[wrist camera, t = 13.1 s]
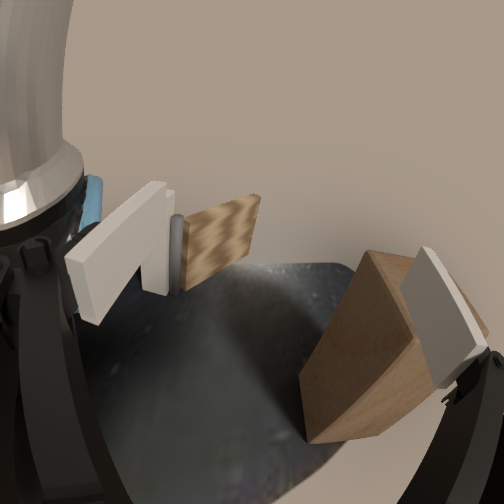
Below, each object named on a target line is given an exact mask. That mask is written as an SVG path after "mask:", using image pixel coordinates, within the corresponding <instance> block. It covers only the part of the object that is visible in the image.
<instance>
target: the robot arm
mask: <svg viewBox="0 0 504 504" xmlns="http://www.w3.org/2000/svg"><path fill="white" fill-rule="evenodd" d="M72 5H73V0H0V504H18V499H17V490H16V480H15V465H14V424H15V408H16V399H17V398H18V397H19V396H20V394H22V403H23V410H24V416H25V422H26V428H27V433H28V438H29V443H30V447H31V451H32V455H33V459H34V463H35V467H36V470H37V473H38V477H39V480H40V483H41V486H42V489H43V493H44V501H43V504H134V503H133V502H132V501H131V499H130V497H129V496H128V494H127V492H126V490H125V488H124V486H123V483H122V481H121V479H120V477H119V475H118V473H117V470H116V468H115V466H114V463H113V461H112V459H111V456H110V454H109V451H108V448H107V446H106V443H105V440H104V438H103V435H102V432H101V429H100V426H99V423H98V420H97V417H96V414H95V411H94V407H93V404H92V401H91V397H90V393H89V390H88V386H87V382H86V378H85V374H84V369H83V365H82V360H81V355H80V350H79V345H78V339H77V333H76V327H75V321H74V318H73V314H74V313H80V316H81V319H83V320H85V321H88V322H90V323H93V324H95V325H98V326H99V324H100V323H101V321H102V320H103V318H104V317H105V315H106V313H107V312H108V310H109V309H110V307H111V306H112V304H113V303H114V302H115V300H116V299H117V297H118V296H119V294H120V293H121V291H122V290H123V288H124V287H125V286H126V284H127V283H128V281H129V280H130V279H131V277H132V276H133V274H134V273H135V272H136V270H137V269H138V267H139V266H140V265H141V263H142V262H143V261H144V259H145V258H146V257H147V255H148V254H149V253H150V251H151V250H152V249H153V247H154V246H155V245H156V243H157V242H158V241H159V239H160V238H161V237H162V235H163V234H164V233H165V209H166V191H167V183H166V182H161V181H154V180H152V181H151V182H150V183H148V184H147V185H146V186H144V187H143V188H142V189H140V190H139V191H138V192H137V193H135V194H134V195H133V196H132V197H131V198H129V199H128V200H127V201H125V202H124V203H123V204H122V205H121V206H119V207H118V208H117V209H116V210H115V211H113V212H112V213H111V214H110V215H109V216H108V217H107V218H105V219H104V220H103V221H102V222H101V211H102V210H101V209H102V192H103V181H102V179H101V178H100V177H98V176H93V175H91V174H88V175H87V176H84V167H83V159H82V155H81V153H80V152H79V150H78V149H77V148H75V147H74V146H73V145H71V144H69V143H68V142H67V141H65V140H64V139H63V138H62V82H63V67H64V56H65V47H66V39H67V32H68V26H69V20H70V15H71V9H72ZM399 288H400V290H401V292H402V295H403V297H404V300H405V302H406V305H407V307H408V310H409V313H410V315H411V318H412V321H413V323H414V326H415V329H416V332H417V335H418V337H419V340H420V343H421V346H422V349H423V352H424V356H425V359H426V362H427V365H428V369H429V372H430V375H431V379H432V382H433V386H434V389H446V388H448V387H449V386H450V385H451V384H452V383H453V382H454V381H455V380H456V382H457V385H458V386H457V387H455V388H454V389H453V390H452V391H451V392H450V393H449V394H448V395H447V396H445V397H444V398H443V399H442V401H441V402H442V403H443V402H444V401H445V400H446V399H449V401H448V402H447V403H446V404H445V405H446V406H447V407H446V409H445V412H444V414H443V417H442V419H441V422H440V424H439V427H438V429H437V431H436V433H435V436H434V438H433V440H432V442H431V444H430V446H429V448H428V450H427V453H426V454H425V456H424V459H423V460H422V462H421V464H420V466H419V468H418V470H417V471H416V473H415V475H414V477H413V478H412V480H411V482H410V483H409V485H408V487H407V488H406V490H405V492H404V493H403V495H402V496H401V498H400V499H399V501H398V502H397V504H504V415H503V413H504V357H503V356H502V355H501V354H500V353H499V352H497V351H490V349H489V347H488V344H487V342H486V340H485V338H484V336H483V334H482V332H481V330H480V328H479V326H478V324H477V322H476V320H475V318H474V316H473V315H472V313H471V311H470V309H469V307H468V306H467V304H466V302H465V300H464V298H463V297H462V295H461V293H460V292H459V290H458V288H457V287H456V285H455V283H454V282H453V280H452V278H451V277H450V275H449V274H448V272H447V270H446V269H445V267H444V266H443V264H442V263H441V261H440V260H439V258H438V257H437V255H436V254H435V252H434V251H433V249H430V248H427V247H424V246H422V247H421V249H420V251H419V252H418V254H417V256H416V258H415V260H414V262H413V264H412V265H411V267H410V269H409V271H408V273H407V274H406V276H405V278H404V280H403V282H402V283H401V285H400V287H399Z"/></svg>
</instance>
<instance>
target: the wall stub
mask: <svg viewBox="0 0 504 504" xmlns="http://www.w3.org/2000/svg"><path fill="white" fill-rule="evenodd" d="M174 203H175V191H174V190H169V189H167V191H166V209H165V233H164V234H163V235H162V237H161V238H160V239H159V241H158V242H157V243H156V245H155V246H154V247H153V249H152V250H151V251H150V253H149V254H148V255H147V257H146V258H145V259H144V261H143V262H142V263H141V277H142V289H143V290H146V291H150V292H153V293H157V294H160V295H164V296H166V295H167V293H168V292H169V290H170V295H172V296H178V295H179V294H180V277H181V256H182V239H183V224H184V217H183V216H182V215H180V214H175V215H174Z"/></svg>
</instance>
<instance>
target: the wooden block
mask: <svg viewBox="0 0 504 504" xmlns="http://www.w3.org/2000/svg"><path fill="white" fill-rule="evenodd" d="M414 260H415V258H411V257H405V256H400V255H394V254H389V253H384V252H378V251H372V250H367V251H366V252H365V253H364V255H363V257H362V259H361V262H360V264H359V266H358V268H357V270H356V272H355V274H354V276H353V278H352V280H351V282H350V284H349V286H348V288H347V290H346V292H345V294H344V296H343V298H342V300H341V302H340V304H339V306H338V308H337V310H336V312H335V313H334V315H333V317H332V319H331V321H330V323H329V324H328V326H327V328H326V330H325V332H324V333H323V335H322V337H321V339H320V340H319V342H318V344H317V346H316V347H315V349H314V351H313V353H312V354H311V356H310V358H309V359H308V361H307V363H306V364H305V366H304V368H303V369H302V371H301V372H300V374H299V383H300V390H301V397H302V404H303V412H304V419H305V427H306V435H307V442H308V443H309V444H318V443H329V442H338V441H346V440H353V439H359V438H366V437H372V436H377V435H379V434H381V433H382V432H383V431H385V430H386V429H388V428H389V427H390V426H392V425H393V424H395V423H396V422H397V421H399V420H400V419H401V418H403V417H404V416H405V415H407V414H408V413H409V412H411V411H412V410H413V409H414V408H415V407H417V406H418V405H419V404H420V403H422V402H423V401H424V400H425V399H426V398H427V397H429V396H430V395H431V394H432V393H433V392H434V391H435V390H436V389H434V386H433V382H432V379H431V375H430V372H429V369H428V365H427V362H426V359H425V356H424V352H423V349H422V346H421V343H420V340H419V337H418V335H417V332H416V329H415V326H414V323H413V321H412V318H411V315H410V313H409V310H408V307H407V305H406V302H405V300H404V297H403V295H402V292H401V290H400V288H399V287H400V285H401V283H402V282H403V280H404V278H405V276H406V274H407V273H408V271H409V269H410V267H411V265H412V264H413V262H414ZM448 274H449V273H448ZM449 275H450V274H449ZM450 277H451V275H450ZM451 278H452V277H451ZM452 280H453V282H454V283H455V285H456V287H457V288H458V290H459V292H460V293H461V295H462V297H463V298H464V300H465V302H466V304H467V306H468V307H469V309H470V311H471V313H472V315H473V316H474V318H475V320H476V322H477V324H478V326H479V328H480V330H481V332H482V334H483V336H484V338H485V339H486V337H487V336H488V334H489V332H488V329H487V328H486V326H485V324H484V323H483V321H482V320H481V318H480V317H479V315H478V313H477V312H476V310H475V309H474V307H473V306H472V304H471V303H470V302H469V300H468V299H467V297H466V296H465V294H464V293H463V292H462V290H461V289H460V287H459V286H458V285H457V283H456V282H455V281H454V279H453V278H452Z"/></svg>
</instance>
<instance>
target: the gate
mask: <svg viewBox="0 0 504 504" xmlns="http://www.w3.org/2000/svg"><path fill="white" fill-rule="evenodd" d="M260 199H261V197H259V196H258V195H255V194H251V195H248V196H245V197H242V198H239V199H236V200H233V201H230V202H227V203H225V204H222V205H218V206H215V207H213V208H210V209H207V210H204V211H201V212H198V213H196V214H193V215H190V216H188V217H185V218H184V224H183V239H182V256H181V277H180V287H181V288H182V289H183V290H184V291H187V290H189V289H190V288H192V287H194V286H195V285H197V284H199V283H200V282H202V281H204V280H206V279H207V278H209V277H211V276H212V275H214V274H216V273H217V272H219V271H221V270H223V269H224V268H226V267H228V266H229V265H231V264H233V263H234V262H236V261H238V260H240V259H241V258H243V257H245V256H246V255H248V253H249V248H250V244H251V240H252V235H253V230H254V226H255V221H256V217H257V213H258V208H259V204H260Z"/></svg>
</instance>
